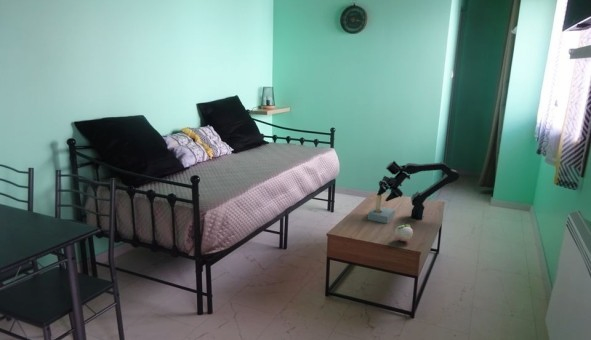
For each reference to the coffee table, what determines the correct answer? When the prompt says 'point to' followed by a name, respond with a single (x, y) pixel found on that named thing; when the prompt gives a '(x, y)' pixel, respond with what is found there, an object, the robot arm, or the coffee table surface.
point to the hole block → (381, 215)
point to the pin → (378, 203)
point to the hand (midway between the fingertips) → (381, 198)
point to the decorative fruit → (404, 232)
